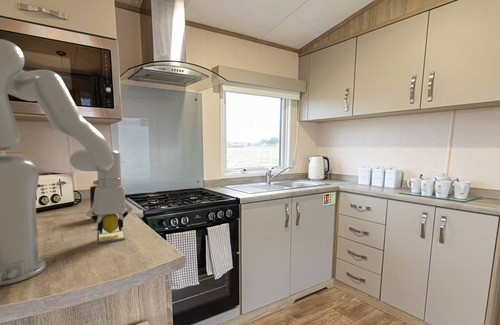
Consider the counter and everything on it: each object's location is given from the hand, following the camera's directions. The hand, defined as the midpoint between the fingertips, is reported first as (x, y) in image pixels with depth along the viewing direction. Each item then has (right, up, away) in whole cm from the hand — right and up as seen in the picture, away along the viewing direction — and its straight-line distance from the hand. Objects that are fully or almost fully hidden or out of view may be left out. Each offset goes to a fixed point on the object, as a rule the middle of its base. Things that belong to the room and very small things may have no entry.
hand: (110, 230), depth 94 cm
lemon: (0, -1, 0) cm, 1 cm away
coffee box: (-19, -2, +27) cm, 33 cm away
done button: (-9, +1, +15) cm, 18 cm away
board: (-4, -3, +7) cm, 9 cm away
